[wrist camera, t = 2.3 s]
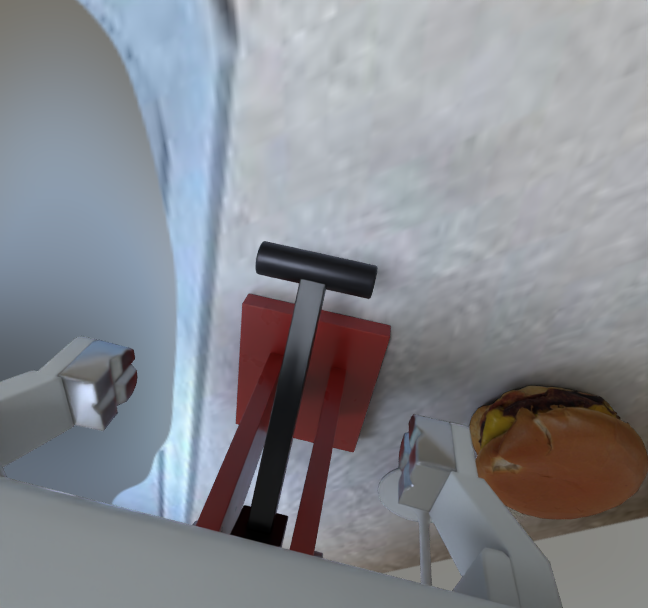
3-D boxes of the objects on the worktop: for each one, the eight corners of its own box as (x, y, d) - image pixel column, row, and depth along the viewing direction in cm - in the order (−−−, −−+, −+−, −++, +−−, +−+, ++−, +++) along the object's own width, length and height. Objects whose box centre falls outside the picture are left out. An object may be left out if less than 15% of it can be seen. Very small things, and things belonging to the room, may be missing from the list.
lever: (268, 243, 19) (257, 238, 17) (376, 267, 19) (379, 264, 16) (204, 551, 20) (184, 588, 18) (304, 578, 20) (298, 618, 17)
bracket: (248, 293, 26) (121, 498, 14) (391, 325, 25) (378, 564, 14) (240, 412, 32) (148, 622, 20) (355, 439, 31) (326, 671, 20)
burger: (600, 480, 29) (629, 547, 25) (462, 468, 31) (470, 529, 27) (644, 374, 24) (689, 438, 20) (476, 366, 26) (488, 424, 22)
